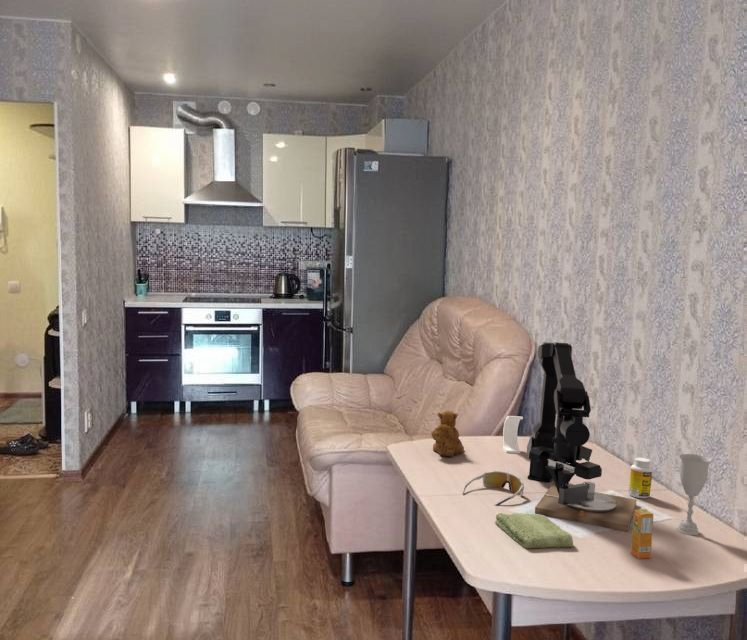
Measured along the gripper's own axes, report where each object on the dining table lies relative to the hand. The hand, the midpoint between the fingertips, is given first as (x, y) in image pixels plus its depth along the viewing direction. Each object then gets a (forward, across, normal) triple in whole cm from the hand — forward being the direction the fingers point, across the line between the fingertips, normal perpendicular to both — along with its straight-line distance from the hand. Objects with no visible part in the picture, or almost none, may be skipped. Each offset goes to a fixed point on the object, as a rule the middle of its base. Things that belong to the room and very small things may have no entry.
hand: (560, 495), depth 189 cm
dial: (+2, -3, -6) cm, 7 cm away
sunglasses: (+5, +17, +6) cm, 18 cm away
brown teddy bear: (+6, +52, -10) cm, 54 cm away
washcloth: (+4, -8, +20) cm, 21 cm away
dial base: (+4, -3, -7) cm, 9 cm away
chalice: (+4, -25, -16) cm, 30 cm away
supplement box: (+3, -28, +8) cm, 29 cm away
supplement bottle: (+4, -4, -30) cm, 30 cm away
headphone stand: (+6, +45, -32) cm, 56 cm away
